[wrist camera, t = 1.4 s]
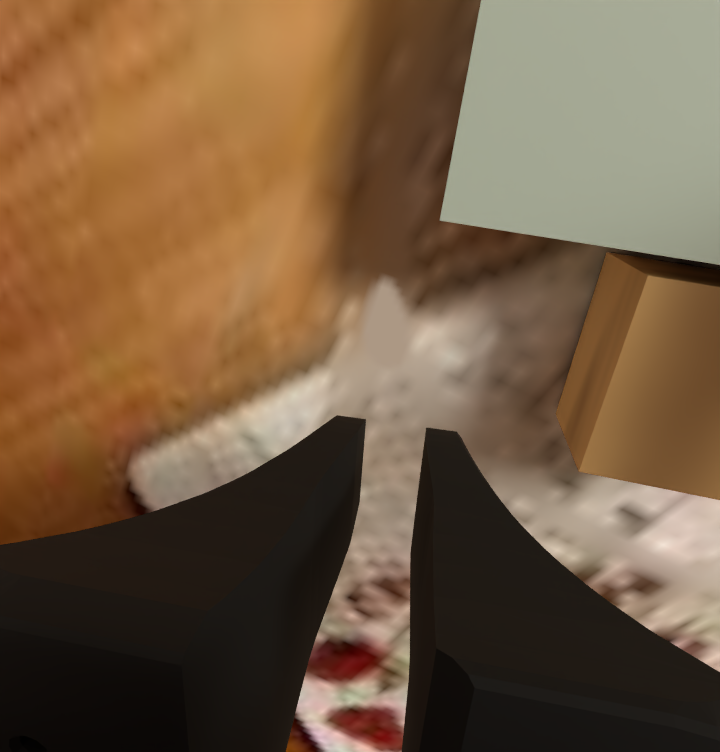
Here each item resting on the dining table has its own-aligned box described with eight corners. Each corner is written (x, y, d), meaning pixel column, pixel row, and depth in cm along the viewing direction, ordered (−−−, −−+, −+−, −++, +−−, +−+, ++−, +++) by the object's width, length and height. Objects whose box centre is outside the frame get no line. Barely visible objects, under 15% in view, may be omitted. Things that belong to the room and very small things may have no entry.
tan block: (768, 278, 17) (856, 309, 13) (695, 440, 19) (752, 506, 15) (607, 252, 17) (647, 276, 13) (555, 413, 19) (578, 471, 16)
